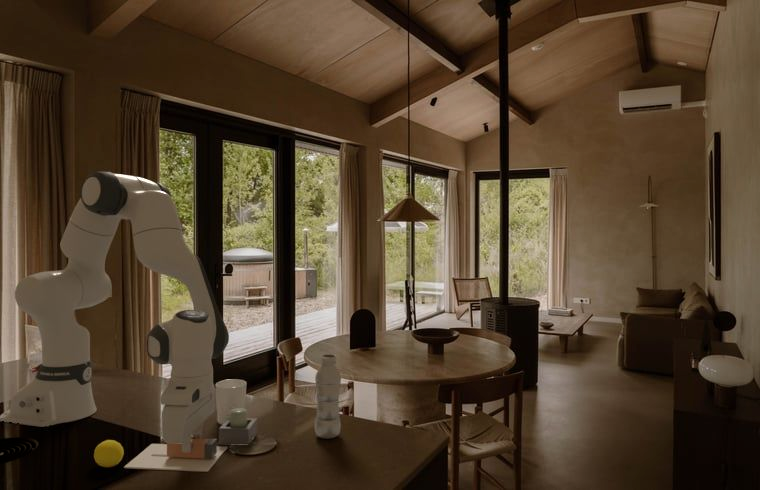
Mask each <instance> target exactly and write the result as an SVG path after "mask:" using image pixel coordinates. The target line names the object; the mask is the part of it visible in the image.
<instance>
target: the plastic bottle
mask: <svg viewBox="0 0 760 490" xmlns="http://www.w3.org/2000/svg"><path fill="white" fill-rule="evenodd" d="M320 358H321V361H320V364H321V366H320V367H319V368H318V370H317V371H316V374H315V377H314V378H315V379H314V380H315V390H316V398H317V400H316V402H317V403H316V417H315V420H314V426H313V427H314V433H315V434H316V436H317V437H318V438H321V439H326V440H328V439H334V438H336V437H338V435H339V434H340V432H341V428H342V424H341V418H340V408H339V407H340V406H339V399H340V389H341V383H342V382H341V381H342V375H341V373H340V371H339V369H338V368H337V366H336V364H337V355H335V354H323V355H321V357H320Z"/></svg>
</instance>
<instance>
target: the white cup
mask: <svg viewBox="0 0 760 490" xmlns="http://www.w3.org/2000/svg"><path fill="white" fill-rule="evenodd" d="M247 385H248V384H247V381H245V380H244V379H238V378H235V379H234V378H233V379H224V380H220V381H218V382H216V383H215V399H216V407H215V408H216V413H217V415H216V416H217V423H218V424H219V425H221V426H222V425H223V424H224V423H225V422H226V421H227V420H228V418H230V411H231V410H233V409H236V408H244V409H246V399H247V398H246V396H247Z"/></svg>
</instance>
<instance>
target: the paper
mask: <svg viewBox="0 0 760 490" xmlns="http://www.w3.org/2000/svg"><path fill="white" fill-rule="evenodd" d="M227 449H228V446H221V445H219V446H218V445H217V453H216V454H215V455H214V456H213V458H212V459H207V458H185V457H167V443H166V444H165V443H151V444H149V446H147V447H146V448H145V449H144V450H143V451H141V452H140V453H139V454H138V455H137V456H135V457H134V458H132V459H131V460H130V461H129V462H127V464H125V466H123V468H124V469H133V470H134V469H135V470H156V471H158V470H161V471H178V472H180V471H182V472H183V471H184V472H201V473H203V472H205V473H206V472H207V473H208V472H209V471H210V470H211V468H213V466H214V465H216V463H217V461H218V460H219V459H220V457H222V455H223V454H224V453H225V451H226V450H227Z"/></svg>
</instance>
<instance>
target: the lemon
mask: <svg viewBox="0 0 760 490" xmlns="http://www.w3.org/2000/svg"><path fill="white" fill-rule="evenodd" d="M124 451H125V450H124V447H123V446H122V444H121V443H120V442H118V441H116V440H113V439H106V440H104V441H102V442H100V443H99V444H98V445H97V446H96V447H95V449H94V453H93V458H94V460H95V463H96V464H97V465H98V466H99V467H103V468H112V467H115V466H117V465H118V464H119V463H120V462H121V461H122V460H123V457H124V455H125V452H124Z"/></svg>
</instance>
